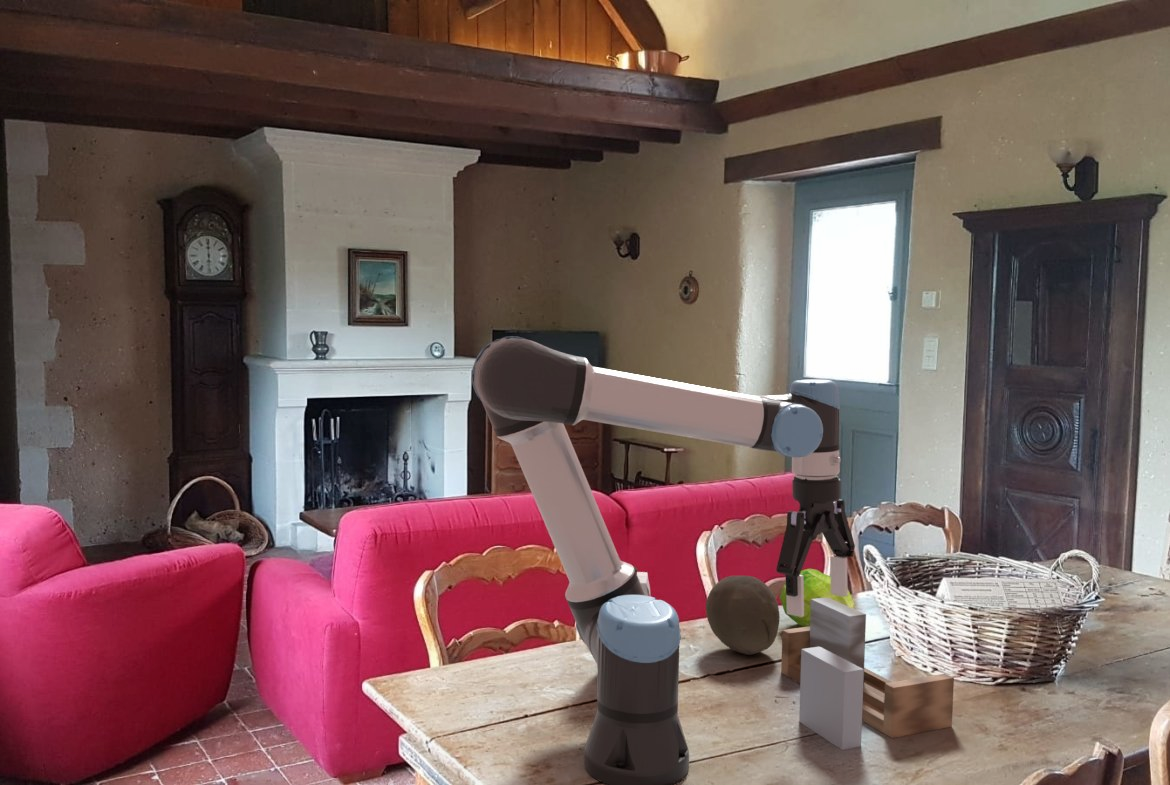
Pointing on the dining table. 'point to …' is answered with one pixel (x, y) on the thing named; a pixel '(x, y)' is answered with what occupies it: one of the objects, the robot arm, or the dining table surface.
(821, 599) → the wooden slotted stand
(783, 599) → the lettuce
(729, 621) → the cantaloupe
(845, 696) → the gray angular faceted block
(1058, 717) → the dining table surface
